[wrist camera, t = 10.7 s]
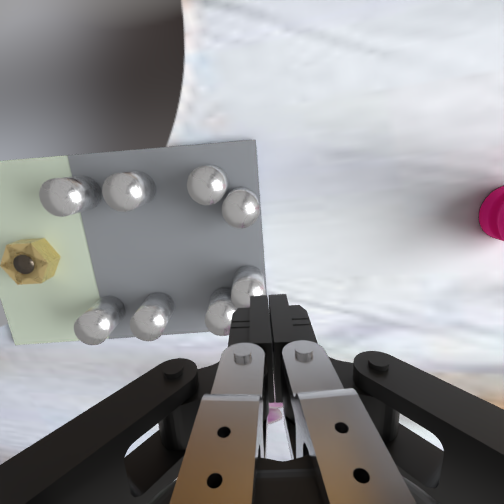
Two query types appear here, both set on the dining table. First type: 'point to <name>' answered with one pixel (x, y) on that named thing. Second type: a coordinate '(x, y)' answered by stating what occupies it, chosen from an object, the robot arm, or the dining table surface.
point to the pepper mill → (493, 214)
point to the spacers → (158, 303)
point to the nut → (30, 261)
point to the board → (127, 239)
